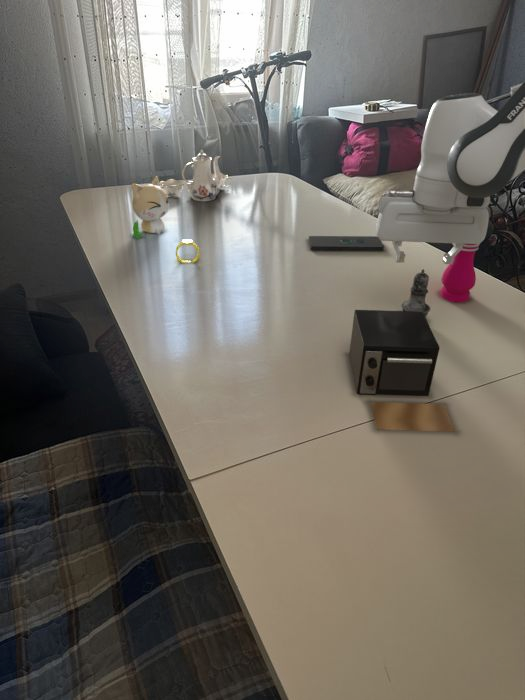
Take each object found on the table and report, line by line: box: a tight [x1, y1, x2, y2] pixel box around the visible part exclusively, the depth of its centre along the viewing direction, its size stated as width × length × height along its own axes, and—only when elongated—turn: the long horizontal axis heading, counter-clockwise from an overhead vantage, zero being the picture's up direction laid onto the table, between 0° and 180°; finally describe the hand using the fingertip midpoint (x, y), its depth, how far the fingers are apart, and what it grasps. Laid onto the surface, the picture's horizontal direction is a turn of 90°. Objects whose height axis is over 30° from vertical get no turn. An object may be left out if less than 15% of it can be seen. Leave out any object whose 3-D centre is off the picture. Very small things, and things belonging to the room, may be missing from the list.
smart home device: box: [308, 235, 385, 252], centre depth 143 cm, size 8×2×20 cm
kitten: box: [131, 175, 170, 239], centre depth 147 cm, size 15×10×15 cm
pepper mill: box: [440, 243, 481, 303], centre depth 112 cm, size 7×7×20 cm
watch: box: [175, 238, 200, 264], centre depth 131 cm, size 6×3×6 cm, turn 98°
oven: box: [348, 309, 441, 397], centre depth 88 cm, size 12×14×10 cm
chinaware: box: [159, 149, 232, 202], centre depth 178 cm, size 28×17×17 cm, turn 130°
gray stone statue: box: [400, 268, 431, 318], centre depth 105 cm, size 6×6×12 cm
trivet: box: [370, 401, 456, 433], centre depth 82 cm, size 12×7×1 cm, turn 88°
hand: (423, 262), depth 101 cm, fingers open, 8 cm apart
